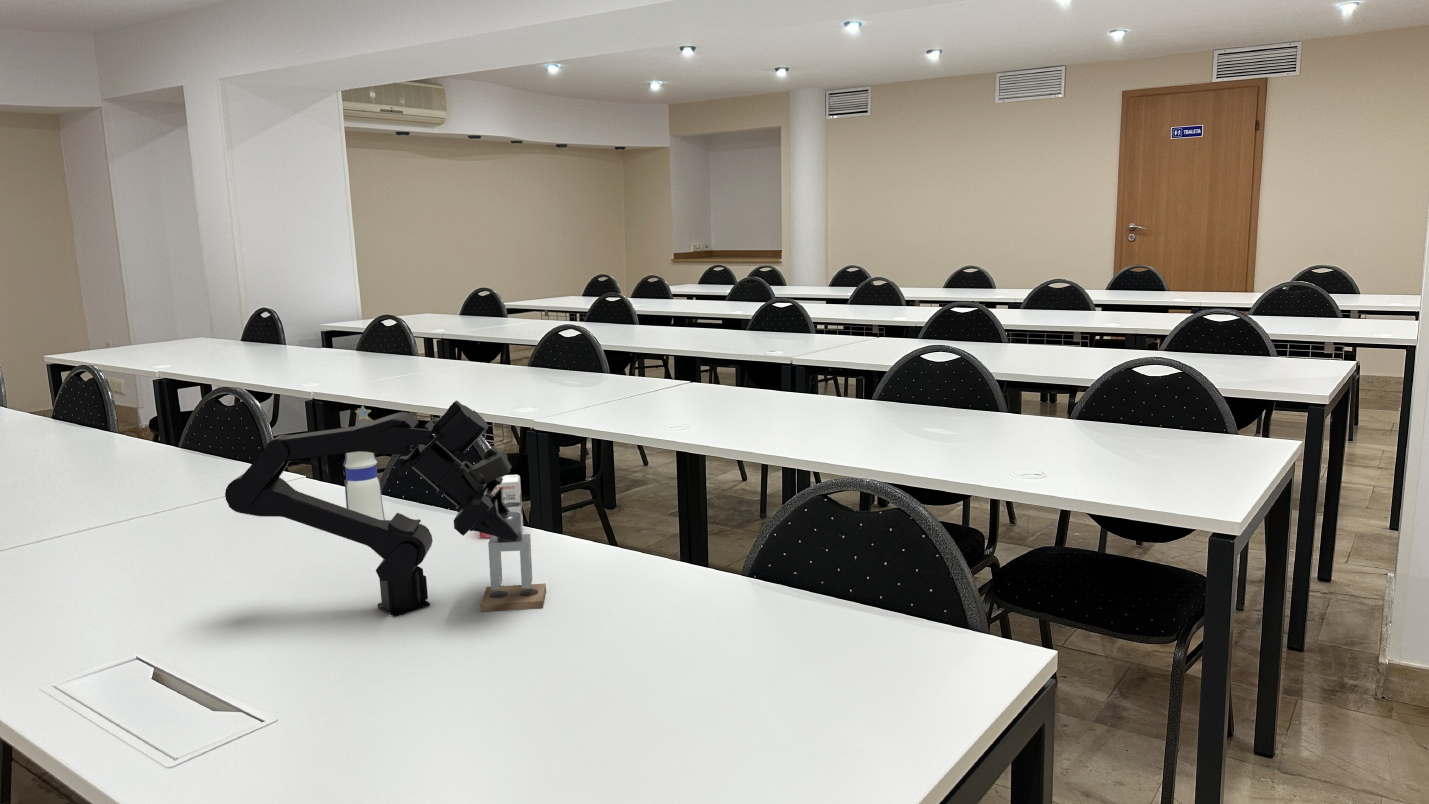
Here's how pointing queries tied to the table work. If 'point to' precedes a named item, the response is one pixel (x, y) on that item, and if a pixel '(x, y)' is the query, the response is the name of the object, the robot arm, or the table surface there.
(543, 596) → the bolt plate
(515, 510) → the ink box
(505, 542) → the dividers
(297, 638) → the table surface
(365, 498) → the water bottle
